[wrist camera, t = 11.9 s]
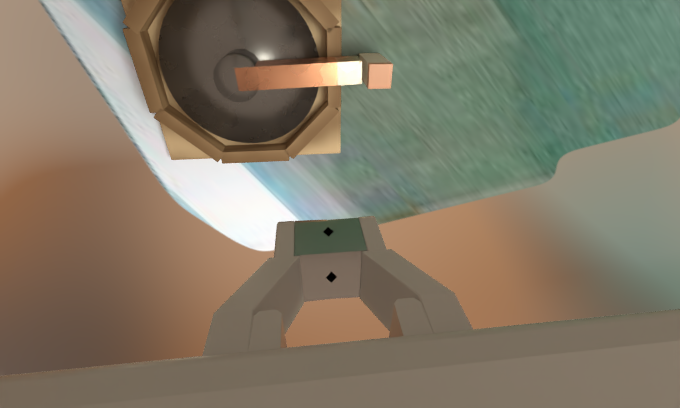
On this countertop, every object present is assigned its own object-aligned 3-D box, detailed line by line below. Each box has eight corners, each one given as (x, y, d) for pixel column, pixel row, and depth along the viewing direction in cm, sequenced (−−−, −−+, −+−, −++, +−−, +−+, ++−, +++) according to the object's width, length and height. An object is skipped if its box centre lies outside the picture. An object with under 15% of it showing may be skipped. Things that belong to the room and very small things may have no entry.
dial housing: (108, -57, 30) (90, -62, 27) (340, -53, 32) (344, -57, 30) (174, 155, 42) (166, 167, 40) (339, 149, 45) (342, 159, 42)
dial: (189, 144, 40) (175, 163, 36) (137, -21, 31) (109, -23, 26) (354, 132, 42) (361, 149, 37) (353, -29, 32) (362, -31, 28)
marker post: (359, 53, 38) (369, 64, 32) (378, 52, 38) (392, 64, 33) (358, 74, 39) (368, 88, 34) (377, 74, 39) (390, 88, 34)
